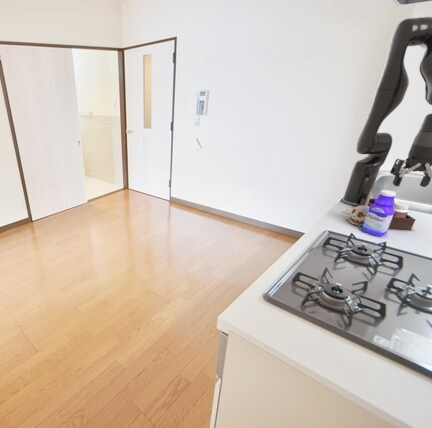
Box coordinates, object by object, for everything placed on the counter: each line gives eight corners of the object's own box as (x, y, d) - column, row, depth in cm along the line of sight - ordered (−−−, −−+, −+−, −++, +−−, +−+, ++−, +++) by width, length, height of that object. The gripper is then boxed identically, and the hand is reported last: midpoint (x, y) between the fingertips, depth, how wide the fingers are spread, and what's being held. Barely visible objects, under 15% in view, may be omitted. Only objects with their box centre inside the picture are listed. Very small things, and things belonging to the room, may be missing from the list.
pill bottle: (405, 225, 112) (414, 206, 109) (395, 226, 112) (403, 207, 108) (393, 220, 116) (400, 201, 113) (383, 221, 116) (390, 202, 112)
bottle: (358, 230, 112) (372, 190, 105) (366, 227, 114) (381, 187, 107) (379, 238, 106) (397, 196, 99) (388, 235, 108) (405, 193, 101)
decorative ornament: (343, 220, 121) (354, 187, 114) (359, 218, 121) (371, 186, 115) (359, 228, 114) (371, 194, 107) (376, 226, 114) (390, 192, 108)
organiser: (358, 207, 131) (361, 198, 129) (377, 208, 129) (381, 198, 127) (388, 229, 112) (392, 218, 110) (410, 230, 110) (415, 219, 108)
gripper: (443, 141, 102) (424, 183, 109) (397, 141, 105) (381, 182, 112) (461, 146, 96) (439, 190, 103) (411, 146, 99) (393, 188, 106)
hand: (409, 186), depth 107 cm, fingers open, 8 cm apart
